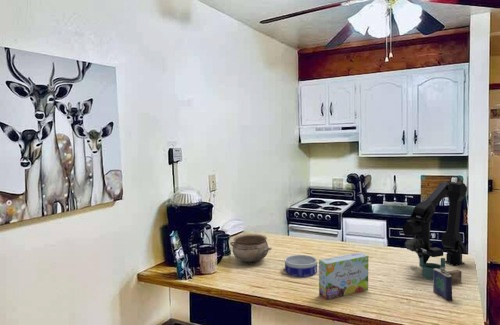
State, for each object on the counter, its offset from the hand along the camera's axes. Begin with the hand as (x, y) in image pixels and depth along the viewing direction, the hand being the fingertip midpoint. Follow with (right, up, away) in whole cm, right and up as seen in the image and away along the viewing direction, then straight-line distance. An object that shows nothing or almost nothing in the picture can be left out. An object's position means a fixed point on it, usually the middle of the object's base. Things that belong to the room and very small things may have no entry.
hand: (423, 265), depth 176 cm
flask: (-4, -5, -25) cm, 26 cm away
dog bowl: (-55, -5, +7) cm, 56 cm away
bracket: (+2, -4, -5) cm, 6 cm away
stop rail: (+4, -4, -14) cm, 15 cm away
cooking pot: (-79, -4, +24) cm, 83 cm away
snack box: (-41, -6, -19) cm, 46 cm away
